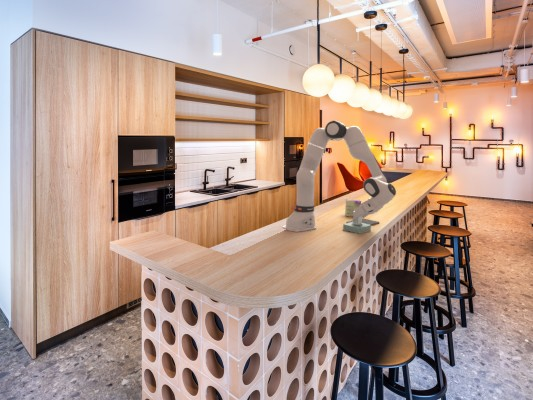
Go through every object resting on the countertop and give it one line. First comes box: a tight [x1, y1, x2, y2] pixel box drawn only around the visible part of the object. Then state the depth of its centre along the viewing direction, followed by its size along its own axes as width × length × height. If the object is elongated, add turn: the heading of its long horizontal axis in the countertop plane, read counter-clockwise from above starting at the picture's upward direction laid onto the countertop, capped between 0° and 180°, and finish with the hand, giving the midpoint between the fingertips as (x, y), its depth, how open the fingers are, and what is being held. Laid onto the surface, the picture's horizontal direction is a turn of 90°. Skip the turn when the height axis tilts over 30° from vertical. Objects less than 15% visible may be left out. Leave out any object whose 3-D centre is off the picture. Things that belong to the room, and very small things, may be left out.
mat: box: [345, 218, 380, 227], centre depth 223 cm, size 18×14×1 cm
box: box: [344, 198, 362, 217], centre depth 244 cm, size 10×6×12 cm, turn 84°
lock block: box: [342, 222, 372, 235], centre depth 206 cm, size 12×12×4 cm
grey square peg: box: [352, 211, 362, 226], centre depth 206 cm, size 4×4×12 cm
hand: (358, 218), depth 205 cm, fingers open, 8 cm apart
